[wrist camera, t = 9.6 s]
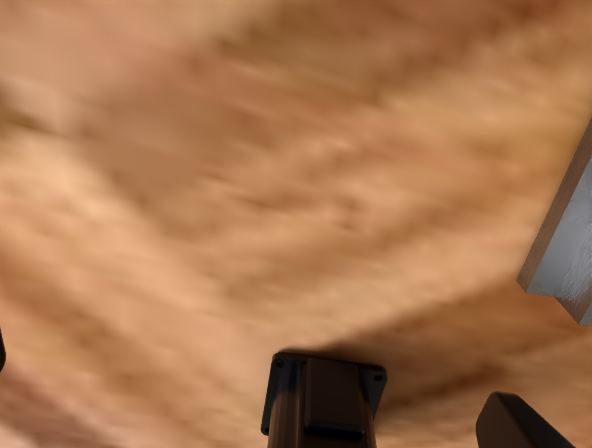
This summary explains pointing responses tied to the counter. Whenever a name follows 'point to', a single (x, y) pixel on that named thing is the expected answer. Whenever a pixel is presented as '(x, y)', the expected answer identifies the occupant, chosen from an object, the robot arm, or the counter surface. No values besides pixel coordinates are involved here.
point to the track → (566, 241)
